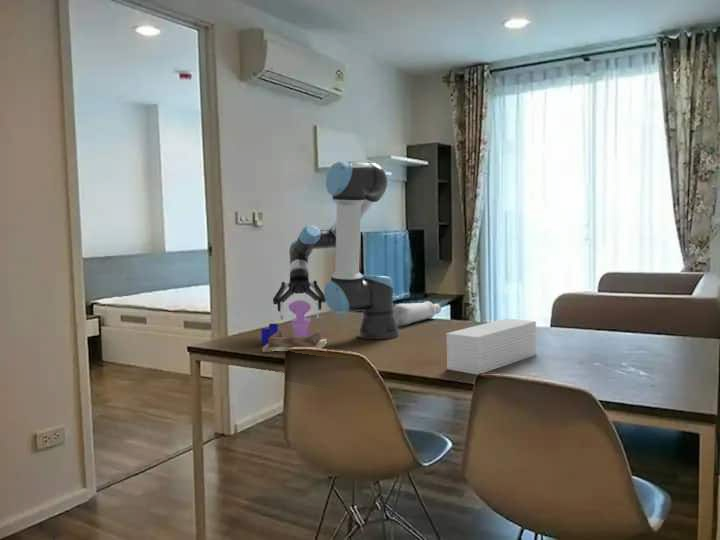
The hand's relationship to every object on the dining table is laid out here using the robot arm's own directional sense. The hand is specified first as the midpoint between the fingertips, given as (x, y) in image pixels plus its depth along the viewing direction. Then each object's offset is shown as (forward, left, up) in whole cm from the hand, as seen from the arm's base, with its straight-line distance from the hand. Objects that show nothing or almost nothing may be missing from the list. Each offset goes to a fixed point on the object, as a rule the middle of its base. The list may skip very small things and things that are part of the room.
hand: (299, 316), depth 236 cm
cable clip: (+11, +5, -9) cm, 15 cm away
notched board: (-2, +17, -8) cm, 19 cm away
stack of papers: (-67, +41, -9) cm, 80 cm away
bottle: (-44, -35, -9) cm, 57 cm away
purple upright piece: (-1, 0, -9) cm, 9 cm away
